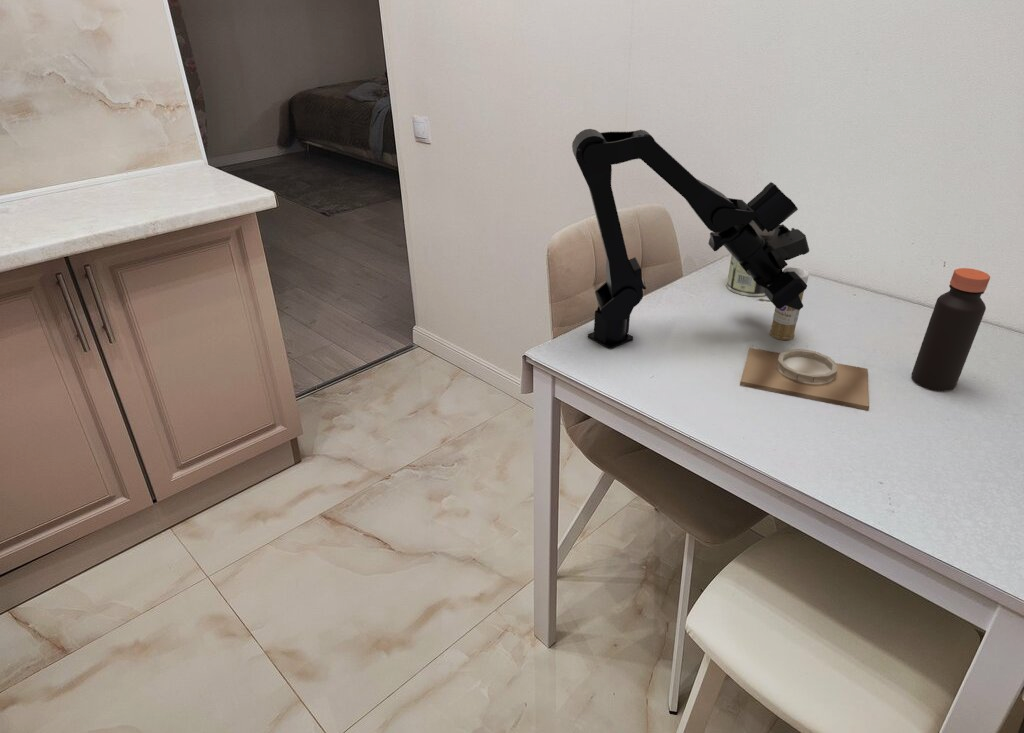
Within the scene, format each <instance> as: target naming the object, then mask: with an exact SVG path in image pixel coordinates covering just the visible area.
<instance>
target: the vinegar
mask: <svg viewBox="0 0 1024 733" xmlns="http://www.w3.org/2000/svg"><path fill="white" fill-rule="evenodd" d="M990 279H991V276H990V275H989V274H988V272H984V271H982V270H979V269H975V268H967V267H965V268H964V267H959V268H955V269H954V270H953V273H952V276H951V279H950V281H949V285H948V286H949V290H948V291H947V292H945V293H942V294H941V295H940V296H938V297H937V299H936V302H935V304H934V307H933V310H932V313H931V317H930V319H929V322H928V324H927V328H926V330H925V333H924V337H923V340H922V342H921V344H920V345H921V346H920V347H919V351H918V354H917V357H916V359H915V363H914V365H913V369H912V371H911V379H912V381H913V382H914V383H916V384H917V385H918V386H920V387H922V388H923V389H927V390H929V391H934V392H950V391H951V390H954V389H955V388H956V387H957V385H958V382H959V379H960V377H961V374H962V372H963V369H964V367H965V364H966V361H967V359H968V356H969V354H970V352H971V348H972V345H973V343H974V340H975V339H976V335H977V333H978V330H979V328H980V326H981V323H982V320H983V318H984V316H985V312H986V308H987V307H986V304H985V302H984V301H983V299H982V298H981V296H982V295H983V294H985V291H986V290H987V288H988V285H989V282H990Z"/></svg>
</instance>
